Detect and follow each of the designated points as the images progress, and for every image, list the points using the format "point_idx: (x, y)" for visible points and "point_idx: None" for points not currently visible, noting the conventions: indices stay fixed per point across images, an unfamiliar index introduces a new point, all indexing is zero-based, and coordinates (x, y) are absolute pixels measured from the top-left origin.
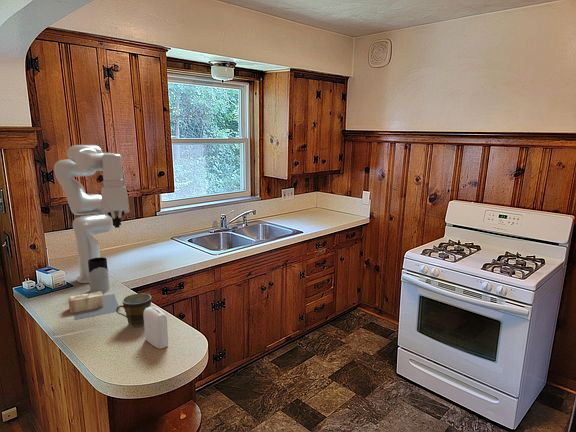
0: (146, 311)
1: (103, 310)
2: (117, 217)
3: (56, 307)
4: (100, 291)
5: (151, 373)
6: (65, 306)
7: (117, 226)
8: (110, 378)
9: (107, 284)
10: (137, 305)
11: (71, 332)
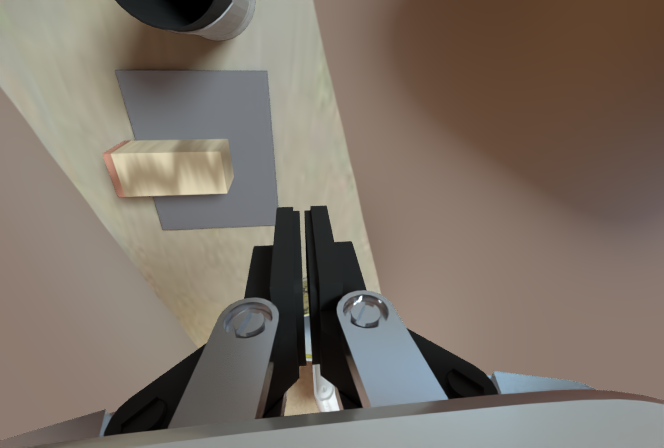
0: (319, 409)
1: (234, 202)
2: (323, 368)
3: (67, 90)
4: (216, 153)
5: (302, 408)
6: (100, 97)
7: (306, 267)
8: None
9: (240, 18)
10: (310, 357)
11: (169, 276)
